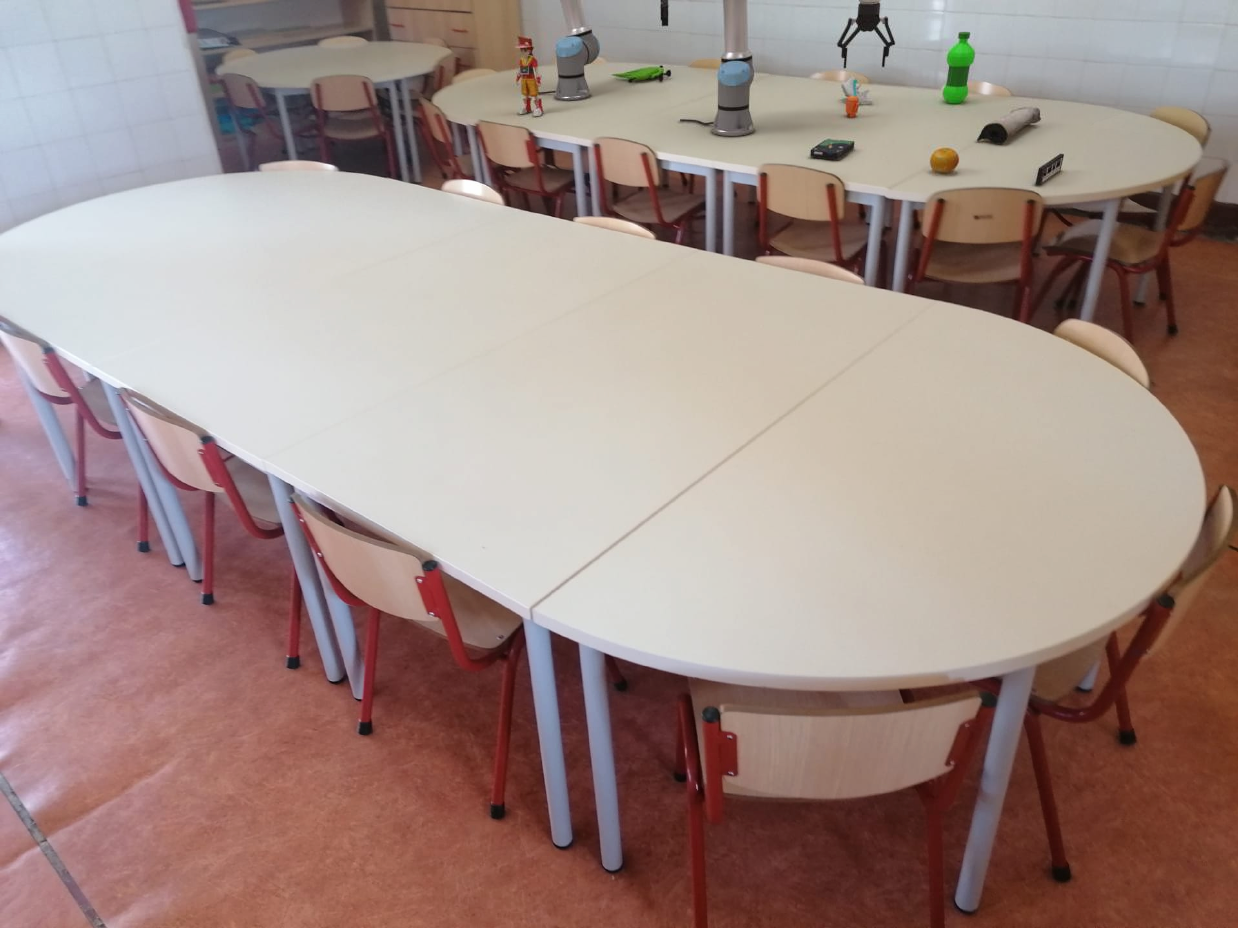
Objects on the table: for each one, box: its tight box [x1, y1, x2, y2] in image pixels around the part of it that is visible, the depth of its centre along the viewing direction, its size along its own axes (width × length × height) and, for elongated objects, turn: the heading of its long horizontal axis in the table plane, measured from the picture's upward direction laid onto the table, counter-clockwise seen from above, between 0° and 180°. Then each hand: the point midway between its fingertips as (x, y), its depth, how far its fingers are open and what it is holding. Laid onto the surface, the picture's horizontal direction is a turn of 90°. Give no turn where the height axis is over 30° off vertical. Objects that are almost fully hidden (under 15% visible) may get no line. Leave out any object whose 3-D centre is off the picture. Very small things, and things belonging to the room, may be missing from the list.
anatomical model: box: [841, 76, 874, 106], centre depth 361 cm, size 15×10×10 cm
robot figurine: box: [845, 94, 860, 118], centre depth 343 cm, size 7×5×8 cm
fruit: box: [929, 147, 960, 174], centre depth 283 cm, size 8×8×8 cm
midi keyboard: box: [1035, 153, 1065, 186], centre depth 273 cm, size 18×1×5 cm, turn 138°
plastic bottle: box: [942, 31, 976, 104], centre depth 348 cm, size 10×10×25 cm
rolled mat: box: [976, 106, 1042, 145], centre depth 314 cm, size 30×9×10 cm
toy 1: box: [514, 35, 544, 117], centre depth 366 cm, size 12×9×30 cm
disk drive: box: [809, 138, 855, 161], centre depth 306 cm, size 10×3×15 cm
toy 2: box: [611, 65, 672, 84], centre depth 420 cm, size 28×5×30 cm
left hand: (664, 23), depth 377 cm, fingers open, 13 cm apart
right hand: (863, 67), depth 328 cm, fingers open, 13 cm apart
